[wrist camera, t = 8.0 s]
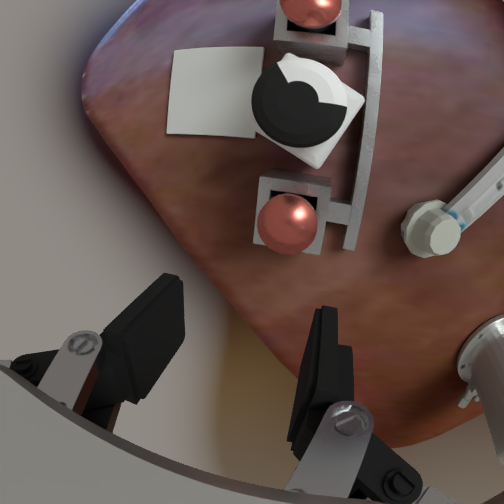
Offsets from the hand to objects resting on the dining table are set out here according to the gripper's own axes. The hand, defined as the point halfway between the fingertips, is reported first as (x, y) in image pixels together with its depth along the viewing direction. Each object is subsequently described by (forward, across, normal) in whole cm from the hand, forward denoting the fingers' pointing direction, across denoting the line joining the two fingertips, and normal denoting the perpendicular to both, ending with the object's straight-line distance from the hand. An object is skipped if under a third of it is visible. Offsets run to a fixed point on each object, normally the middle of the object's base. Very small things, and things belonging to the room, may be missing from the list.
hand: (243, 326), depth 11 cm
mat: (+21, +10, -11) cm, 26 cm away
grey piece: (+22, -20, -8) cm, 31 cm away
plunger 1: (+21, 0, -18) cm, 27 cm away
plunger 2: (+21, 0, 0) cm, 21 cm away
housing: (+21, -2, -9) cm, 23 cm away
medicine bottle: (+22, 0, -9) cm, 23 cm away
